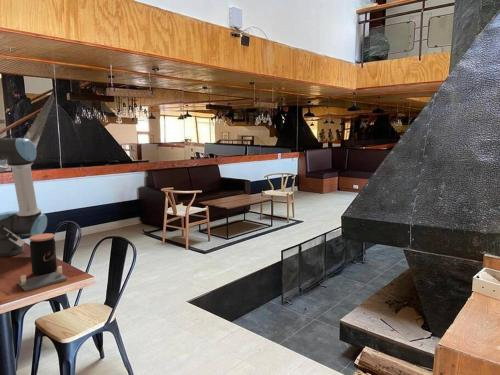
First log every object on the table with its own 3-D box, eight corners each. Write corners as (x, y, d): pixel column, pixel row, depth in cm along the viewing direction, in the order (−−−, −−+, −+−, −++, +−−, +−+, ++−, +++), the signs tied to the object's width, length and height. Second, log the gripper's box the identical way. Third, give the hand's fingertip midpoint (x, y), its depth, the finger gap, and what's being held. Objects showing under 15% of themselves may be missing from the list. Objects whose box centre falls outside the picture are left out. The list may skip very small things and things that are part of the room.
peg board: (25, 291, 156) (24, 279, 155) (17, 283, 163) (16, 272, 163) (66, 280, 168) (66, 269, 168) (58, 273, 176) (57, 263, 175)
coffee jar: (46, 277, 172) (43, 240, 169) (26, 275, 174) (23, 238, 171) (61, 268, 182) (59, 234, 179) (43, 267, 184) (40, 232, 181)
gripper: (-38, 216, 162) (5, 241, 175) (-26, 226, 145) (20, 254, 158) (-24, 202, 165) (16, 229, 178) (-11, 211, 148) (33, 239, 161)
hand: (18, 240), depth 168 cm, fingers open, 13 cm apart
